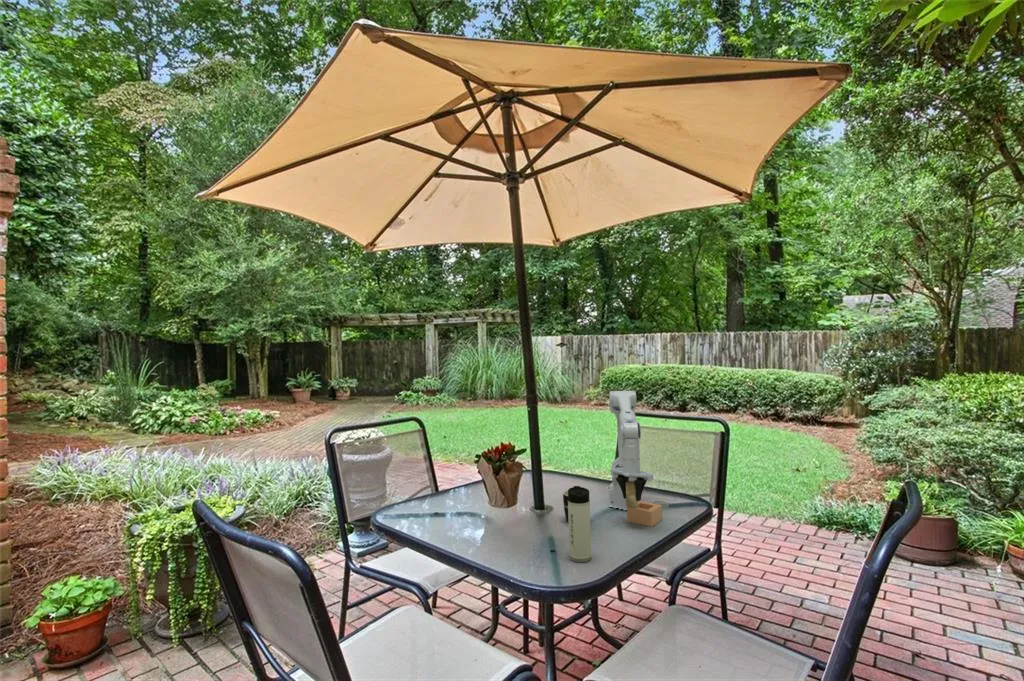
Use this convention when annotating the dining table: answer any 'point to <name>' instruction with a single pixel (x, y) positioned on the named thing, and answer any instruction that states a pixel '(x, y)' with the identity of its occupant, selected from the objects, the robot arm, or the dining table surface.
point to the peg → (631, 495)
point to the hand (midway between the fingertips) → (632, 499)
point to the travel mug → (579, 524)
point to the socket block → (645, 514)
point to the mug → (566, 504)
